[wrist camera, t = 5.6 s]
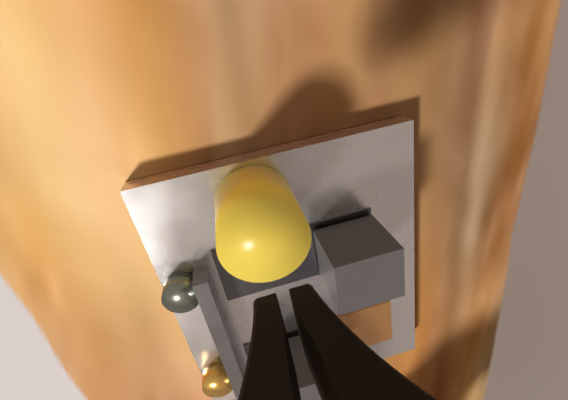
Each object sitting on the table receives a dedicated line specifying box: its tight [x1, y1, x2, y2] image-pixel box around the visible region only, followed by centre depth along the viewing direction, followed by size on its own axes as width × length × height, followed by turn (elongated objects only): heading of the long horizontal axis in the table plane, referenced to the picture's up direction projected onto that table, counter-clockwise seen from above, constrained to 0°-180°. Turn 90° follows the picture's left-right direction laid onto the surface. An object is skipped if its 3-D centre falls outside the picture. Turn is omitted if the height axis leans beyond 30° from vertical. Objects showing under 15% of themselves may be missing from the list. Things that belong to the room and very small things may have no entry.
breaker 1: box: [288, 335, 321, 400], centre depth 21 cm, size 3×4×4 cm
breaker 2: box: [313, 215, 405, 315], centre depth 18 cm, size 3×4×4 cm
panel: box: [120, 115, 415, 400], centre depth 21 cm, size 18×15×3 cm
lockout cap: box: [215, 165, 312, 283], centre depth 16 cm, size 4×4×4 cm
